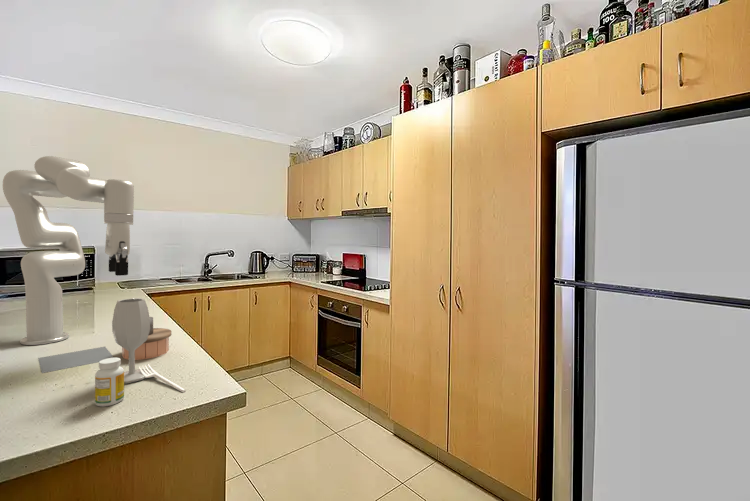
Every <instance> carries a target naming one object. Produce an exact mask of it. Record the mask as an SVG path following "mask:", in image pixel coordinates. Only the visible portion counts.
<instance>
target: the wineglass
mask: <svg viewBox="0 0 750 501" xmlns="http://www.w3.org/2000/svg"><path fill="white" fill-rule="evenodd" d="M113 309H114V310H113V314H112V315H113V316H112V322H111V323H112V324H111V326H112V327H111V328H112V336H113V338H114V341H115V343H116V344H117V345H118V346H120V347H121V348H122V347H123V348H125V349H126V350H128V351H129V359H128V370H127V371H126V370H125V371H124V385H125V384H127V385H128V384H130V383H135V382H139V381H143V380H145V379H146V378H145V376H144V375H142V373H141V371H140V368H139V369H137V368H136V360H135V350H136V349H137V348H138V347H139V346H140V345H142V344H143V343H144V342H145V341H146V340H147V338H148V335H149V331H150V317H151V316H150V313H149V307H148V305H147V303H146V300H145V298H142V297H141V298H140V297H139V298H137V297H133V298H123V299H120V300H119V299H118V300H117V301H116V304H115V306H114V308H113ZM141 369H142V370H143V368H141ZM145 370H146V371H147V369H146V368H145ZM143 371H144V370H143ZM147 372H148V371H147ZM144 373H145V371H144ZM148 373H149V372H148ZM145 374H146V373H145ZM149 374H150V373H149ZM147 375H148V374H147Z"/></svg>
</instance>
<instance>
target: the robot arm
mask: <svg viewBox="0 0 750 501" xmlns="http://www.w3.org/2000/svg"><path fill="white" fill-rule="evenodd" d="M33 166H34V170H35V171H33V170H28V169H27V170H26V169H25V170H24V169H20V170H19V169H15V170H11V171H8V172H7V173H6V174H5V175H4V177H3V179H2V191H3V196H4V197H5V199H6V201H7V203H8V204H9V206H10V208H11V209H12V211H13V215H14V219H15V222H16V226H17V227H16V228H17V231H18V234H19V235H18V236H19V239H20V241H21V243H22V245H23V246H24V247H25V248H28V249H33V250H34V249H37V250H38V249H39V251H37V250H36V251H33V252H29V253H27V254H25V255H24V256H23V257H22V258H21V261H20V267H21V268H20V270H21V272H22V276H23V280H24V287H25V317H26V318H25V319H26V320H25V324H26V325H25V327H26V330H25V331H26V336H25V337H23V338H21V339H20V344H21V345H25V346H35V345H36V346H37V345H39V346H40V345H45V344H46V345H47V344H53V343H57V342H61V341H64V340H66V339H68V338H69V337H70V334H69V333H68V332H66V331H64V308H63V307H64V306H63V301H64V300H63V297H64V296H63V289H62V287H61V285H60V284H59V282H57V280H56V279H55V278H62V277H71V276H78V275H80V274H82V273H83V272H84V270H85V268H86V258H85V254H84V251H83V247H82V243H81V240H80V235H79V233H78V232H79V231H77V229H76V228H75V227H74V226H73V225H72V224H70V223H65V222H52V221H51V220H50V219H49V215H48V211H47V209H46V207H45V206H44V205H43V204H42V203H41V202H40V201H39V200H38V199H36V198H34V196H37V197H46V198H47V197H48V198H57V199H60V198H61V199H62V198H70V199H73V200H76V201H79V202H89V203H99V204H100V203H101V204H103V224H106V231H105V232H106V233H105V245H104V246H105V247H104V248H105V249H104V253H105V254H106V255H108V272H109V273H113V272H114V275H115V277H116V276H117V277H119V276H128V275H129V255H130V250H131V232H130V231H131V230H130V229H131V228H130V226H134V205H135V203H134V201H135V200H134V199H135V196H134V195H135V194H134V192H135V191H134V190H135V189H134V188H135V186H134V184H133V182H131V181H128V180H125V179H124V180H123V179H111V178H110V179H102V178H97V177H91V176H90V175H91V174H90V169H89V167H88V166H87V165H86V164H85V163H84V162H82V161H79V160H76V159H75V160H74V159H70V158H64V157H59V156H53V155H46V156H45V155H44V156H42V157H39V158H38V159H37V160H36V161H35V162H34V165H33ZM40 249H59V250H44V251H43V250H40Z"/></svg>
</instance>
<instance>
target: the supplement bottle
mask: <svg viewBox="0 0 750 501" xmlns="http://www.w3.org/2000/svg"><path fill="white" fill-rule="evenodd" d="M121 364H122V360H121V358H120V357H114V358H107V359H104V360H101V361H100V362H98V369H99V370H97V371H96V373H95V375H94V396H95V397H94V398H95V399H94V404H95V405H96V406H97V407H109V406H113V405H114V406H115V405H116V404H118V403H120V402H122V401H123V400H124V398H125V384H124V372H125V369H124V368H123V367H122V366H121Z"/></svg>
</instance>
